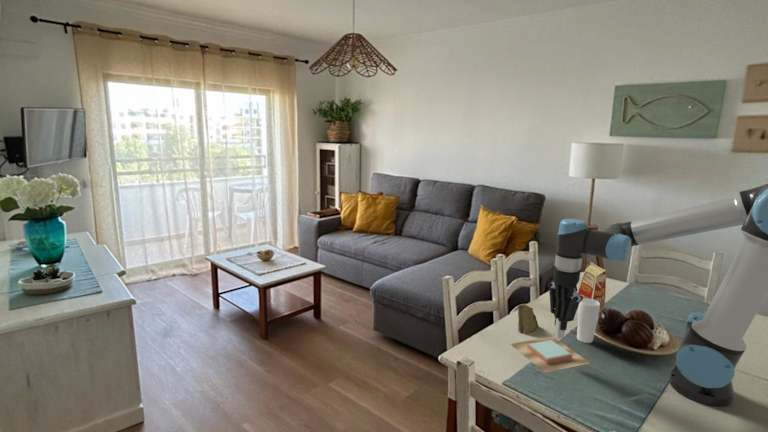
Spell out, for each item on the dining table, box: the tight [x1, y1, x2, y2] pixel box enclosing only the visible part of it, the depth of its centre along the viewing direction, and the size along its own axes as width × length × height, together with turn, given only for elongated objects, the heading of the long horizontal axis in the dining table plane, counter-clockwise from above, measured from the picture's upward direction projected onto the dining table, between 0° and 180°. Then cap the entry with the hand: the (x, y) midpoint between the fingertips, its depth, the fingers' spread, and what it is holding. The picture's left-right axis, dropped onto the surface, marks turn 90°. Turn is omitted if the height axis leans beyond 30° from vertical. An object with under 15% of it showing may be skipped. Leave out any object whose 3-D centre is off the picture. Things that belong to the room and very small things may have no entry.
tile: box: [527, 340, 572, 364], centre depth 140 cm, size 2×10×10 cm
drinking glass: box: [576, 298, 600, 344], centre depth 148 cm, size 7×7×15 cm
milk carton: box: [577, 261, 607, 313], centre depth 174 cm, size 9×9×20 cm
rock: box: [517, 304, 539, 335], centre depth 156 cm, size 11×9×10 cm
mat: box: [510, 336, 591, 374], centre depth 140 cm, size 18×18×1 cm
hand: (559, 337), depth 134 cm, fingers closed
